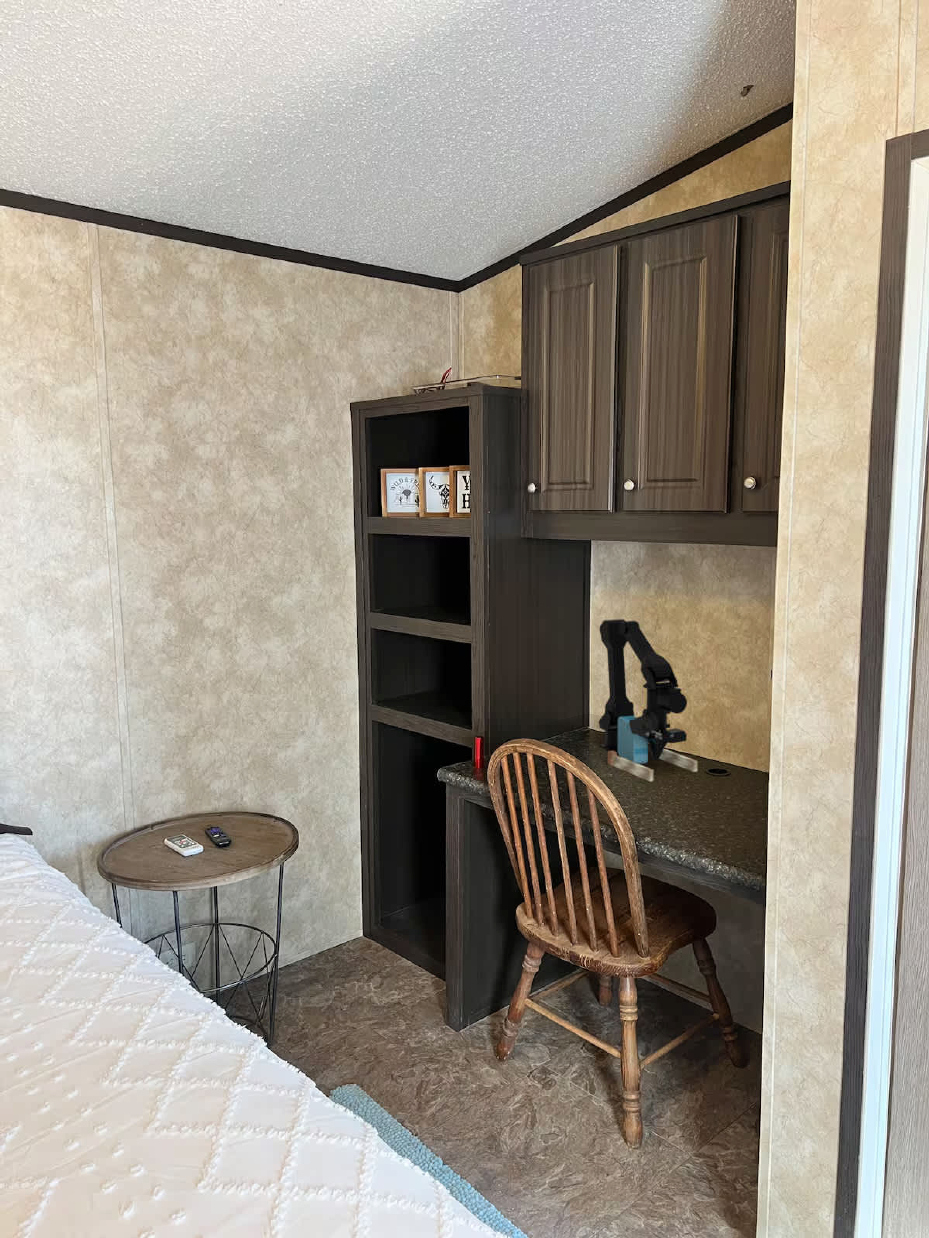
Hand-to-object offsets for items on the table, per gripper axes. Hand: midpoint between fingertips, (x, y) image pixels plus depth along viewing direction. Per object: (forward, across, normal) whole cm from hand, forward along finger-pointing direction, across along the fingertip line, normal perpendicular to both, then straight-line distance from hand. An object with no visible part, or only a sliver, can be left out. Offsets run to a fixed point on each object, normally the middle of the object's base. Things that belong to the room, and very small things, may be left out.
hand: (656, 759), depth 263 cm
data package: (+3, -10, 0) cm, 10 cm away
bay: (+3, -1, 0) cm, 3 cm away
